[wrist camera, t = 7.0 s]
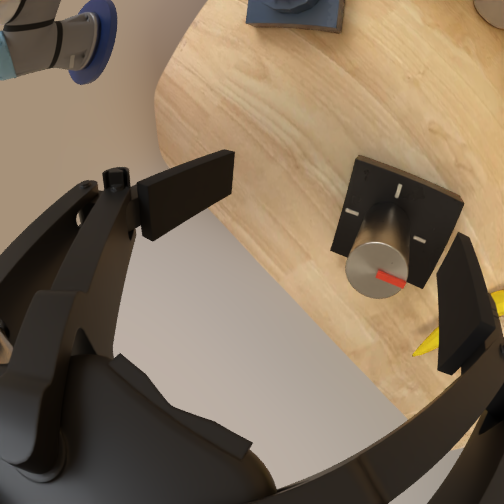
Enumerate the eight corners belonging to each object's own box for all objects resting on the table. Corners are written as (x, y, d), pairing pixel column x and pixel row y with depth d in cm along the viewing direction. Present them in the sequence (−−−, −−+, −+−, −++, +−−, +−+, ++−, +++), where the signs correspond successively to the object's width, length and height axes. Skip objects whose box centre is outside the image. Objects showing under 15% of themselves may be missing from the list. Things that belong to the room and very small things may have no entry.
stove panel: (335, 241, 32) (329, 251, 30) (358, 154, 26) (355, 158, 24) (422, 277, 28) (422, 290, 26) (460, 195, 22) (464, 203, 20)
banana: (411, 322, 32) (407, 357, 27) (530, 265, 19) (546, 296, 14) (418, 336, 32) (414, 371, 27) (534, 282, 19) (547, 315, 14)
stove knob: (358, 237, 28) (336, 287, 21) (370, 195, 25) (354, 234, 18) (399, 253, 26) (392, 309, 19) (416, 212, 23) (418, 259, 16)
